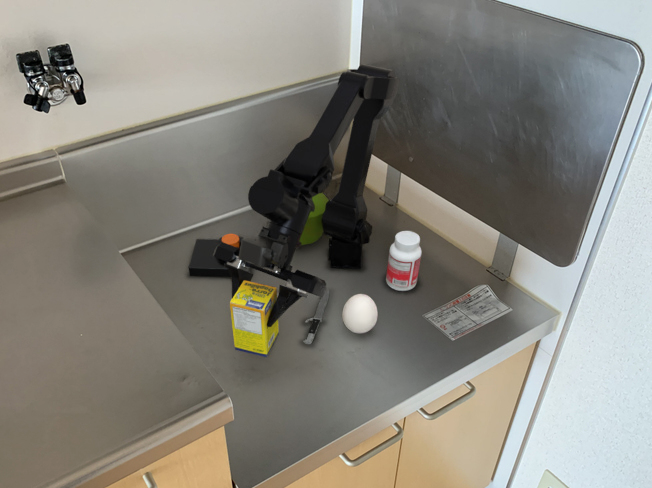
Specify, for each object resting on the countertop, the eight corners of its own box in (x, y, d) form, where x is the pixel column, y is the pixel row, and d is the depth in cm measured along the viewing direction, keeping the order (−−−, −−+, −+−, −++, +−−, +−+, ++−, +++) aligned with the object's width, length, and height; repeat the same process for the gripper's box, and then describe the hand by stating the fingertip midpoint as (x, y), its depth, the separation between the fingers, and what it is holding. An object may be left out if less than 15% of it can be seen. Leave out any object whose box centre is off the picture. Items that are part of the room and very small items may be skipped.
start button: (240, 240, 128) (240, 233, 127) (238, 251, 125) (238, 244, 124) (223, 240, 128) (222, 233, 127) (221, 250, 126) (220, 243, 124)
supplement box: (279, 334, 106) (277, 286, 98) (267, 358, 101) (264, 310, 94) (247, 326, 107) (243, 278, 100) (234, 350, 103) (229, 302, 96)
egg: (340, 317, 116) (342, 285, 110) (374, 317, 115) (378, 285, 110) (341, 341, 111) (344, 308, 106) (377, 341, 111) (381, 309, 105)
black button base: (252, 248, 132) (251, 233, 129) (248, 277, 125) (247, 262, 122) (197, 247, 133) (195, 232, 130) (189, 276, 125) (187, 260, 122)
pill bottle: (407, 270, 126) (414, 225, 119) (422, 288, 122) (430, 243, 115) (380, 276, 125) (385, 232, 117) (394, 295, 120) (400, 250, 113)
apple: (335, 247, 132) (337, 203, 125) (281, 257, 130) (280, 212, 122) (316, 216, 141) (318, 173, 134) (265, 225, 139) (264, 181, 131)
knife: (297, 343, 110) (313, 345, 110) (297, 340, 110) (313, 342, 109) (317, 289, 122) (332, 291, 121) (317, 286, 121) (332, 288, 120)
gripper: (213, 199, 95) (178, 293, 95) (319, 235, 88) (280, 336, 88) (245, 217, 105) (213, 302, 105) (341, 250, 98) (307, 341, 98)
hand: (250, 319), depth 99 cm, fingers closed on supplement box, 6 cm apart
